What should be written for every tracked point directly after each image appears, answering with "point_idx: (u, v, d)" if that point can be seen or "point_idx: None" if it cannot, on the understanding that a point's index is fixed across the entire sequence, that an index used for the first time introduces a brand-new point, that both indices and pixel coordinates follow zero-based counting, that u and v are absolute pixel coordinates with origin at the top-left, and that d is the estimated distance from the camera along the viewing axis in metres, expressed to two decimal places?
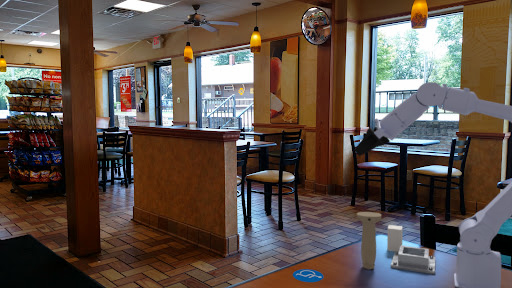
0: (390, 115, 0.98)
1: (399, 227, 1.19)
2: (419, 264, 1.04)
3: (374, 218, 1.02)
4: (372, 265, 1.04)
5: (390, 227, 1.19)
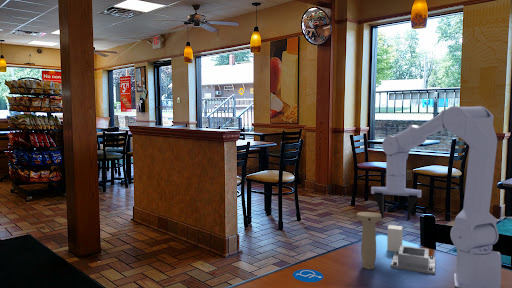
0: None
1: (399, 227, 1.19)
2: (419, 264, 1.04)
3: (374, 218, 1.02)
4: (372, 265, 1.04)
5: (390, 227, 1.19)
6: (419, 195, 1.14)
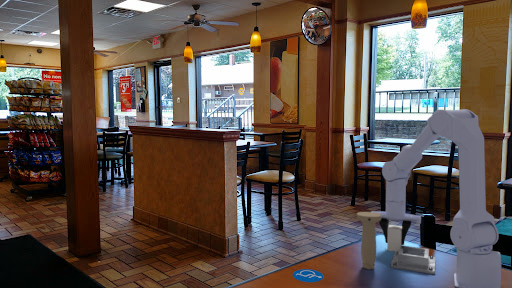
0: None
1: (399, 227, 1.19)
2: (419, 264, 1.04)
3: (374, 218, 1.02)
4: (372, 265, 1.04)
5: (390, 227, 1.19)
6: (418, 221, 1.15)
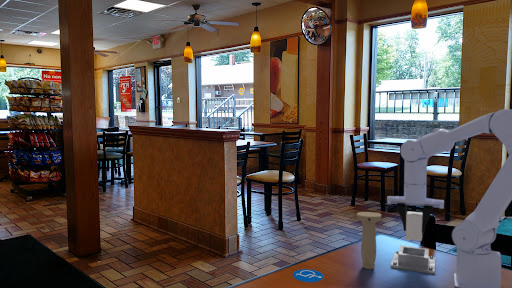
0: None
1: (419, 213, 1.07)
2: (419, 264, 1.04)
3: (374, 218, 1.02)
4: (372, 265, 1.04)
5: (409, 213, 1.07)
6: (441, 206, 1.03)
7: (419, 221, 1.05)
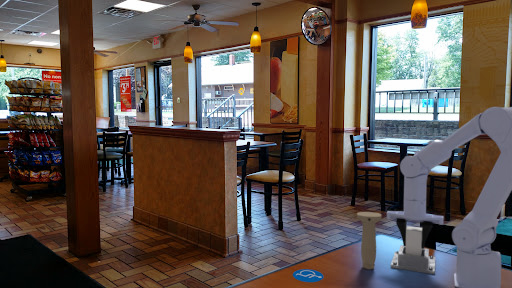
0: None
1: (419, 229, 1.07)
2: (419, 264, 1.04)
3: (374, 218, 1.02)
4: (372, 265, 1.04)
5: (409, 228, 1.08)
6: (441, 222, 1.03)
7: (419, 237, 1.05)
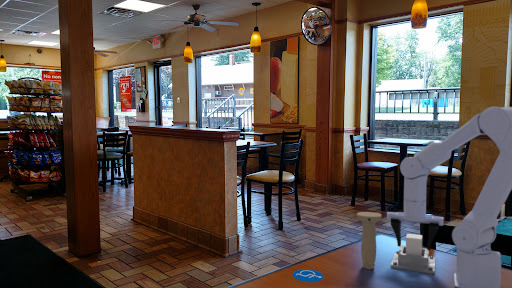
0: None
1: (419, 236, 1.07)
2: (419, 264, 1.04)
3: (374, 218, 1.02)
4: (372, 265, 1.04)
5: (409, 236, 1.08)
6: (441, 223, 1.03)
7: (419, 244, 1.05)
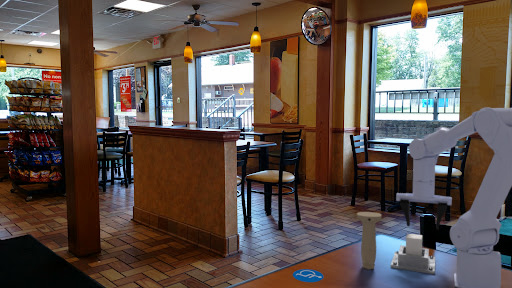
0: None
1: (419, 236, 1.07)
2: (419, 264, 1.04)
3: (374, 218, 1.02)
4: (372, 265, 1.04)
5: (409, 236, 1.08)
6: (449, 203, 1.06)
7: (419, 244, 1.05)
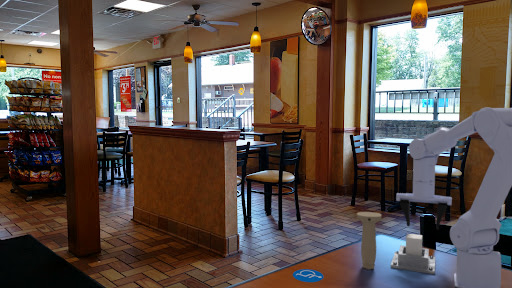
0: None
1: (419, 236, 1.07)
2: (419, 264, 1.04)
3: (374, 218, 1.02)
4: (372, 265, 1.04)
5: (409, 236, 1.08)
6: (449, 203, 1.06)
7: (419, 244, 1.05)
